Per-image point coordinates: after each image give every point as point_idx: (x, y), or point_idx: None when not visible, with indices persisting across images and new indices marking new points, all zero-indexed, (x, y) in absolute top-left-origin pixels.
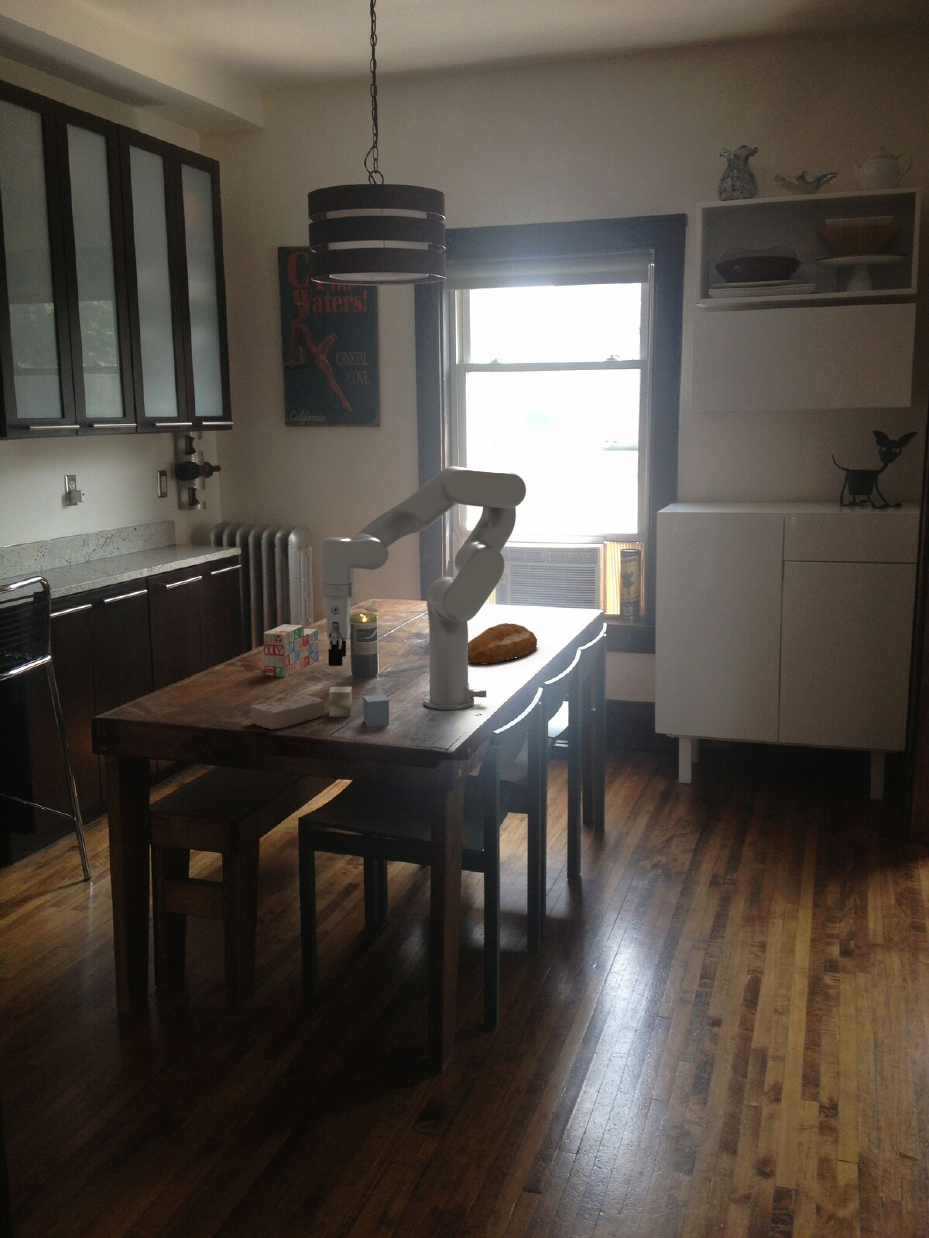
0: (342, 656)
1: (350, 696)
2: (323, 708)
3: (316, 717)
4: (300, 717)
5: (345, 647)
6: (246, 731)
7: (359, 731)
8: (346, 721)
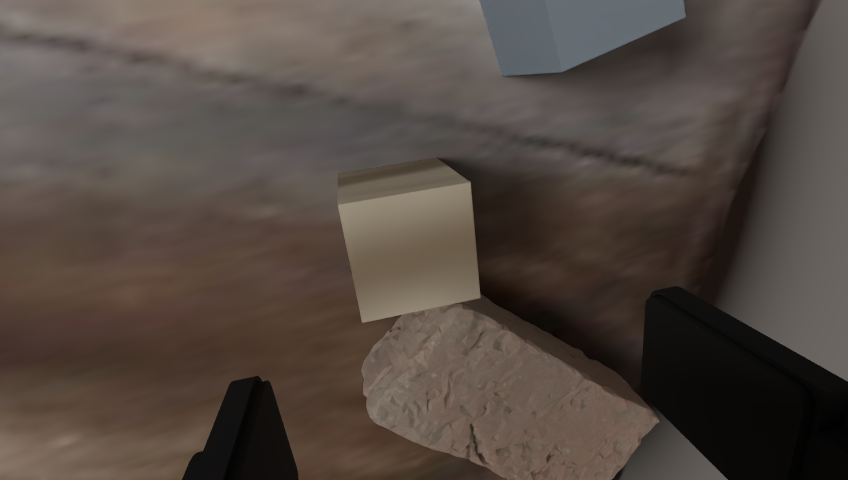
0: (274, 400)
1: (431, 180)
2: None
3: None
4: (546, 335)
5: (230, 458)
6: None
7: (658, 62)
8: (516, 155)
